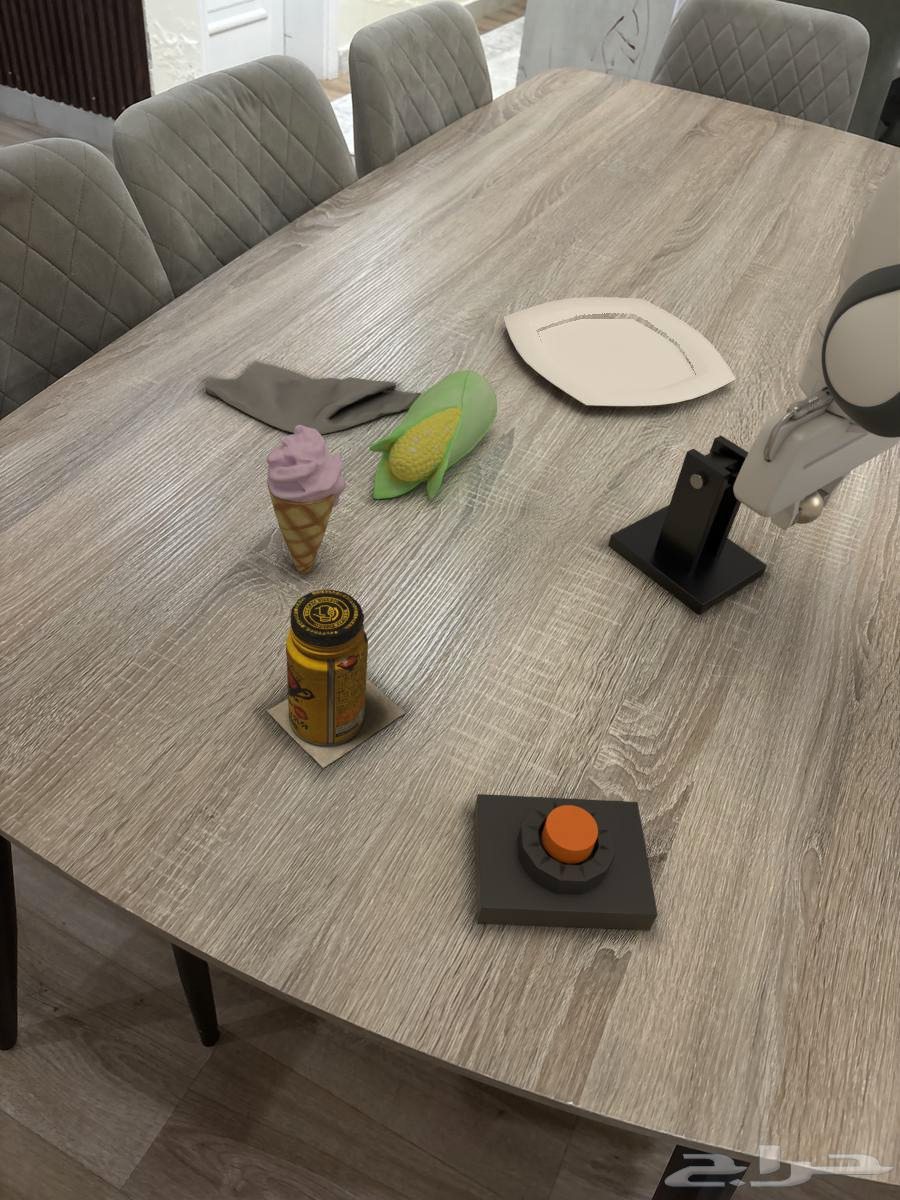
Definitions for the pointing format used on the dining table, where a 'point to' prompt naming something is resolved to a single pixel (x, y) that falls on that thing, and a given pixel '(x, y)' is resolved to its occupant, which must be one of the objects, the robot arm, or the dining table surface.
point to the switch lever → (809, 504)
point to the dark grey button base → (560, 867)
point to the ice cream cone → (304, 491)
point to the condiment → (330, 678)
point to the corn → (435, 434)
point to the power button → (569, 834)
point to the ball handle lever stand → (694, 535)
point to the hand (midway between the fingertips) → (797, 514)
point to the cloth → (309, 398)
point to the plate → (617, 353)
